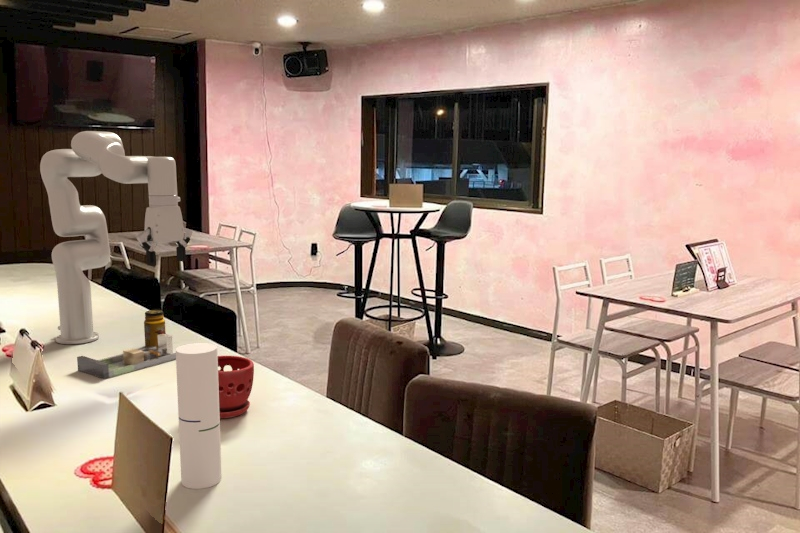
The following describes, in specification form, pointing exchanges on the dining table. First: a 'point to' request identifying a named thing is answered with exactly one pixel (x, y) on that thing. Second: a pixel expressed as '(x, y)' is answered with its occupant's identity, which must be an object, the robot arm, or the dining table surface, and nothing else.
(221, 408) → the plant pot
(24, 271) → the dining table surface
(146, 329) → the condiment
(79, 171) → the robot arm
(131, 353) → the beech block
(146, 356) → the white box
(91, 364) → the tray
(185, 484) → the cylindrical container
